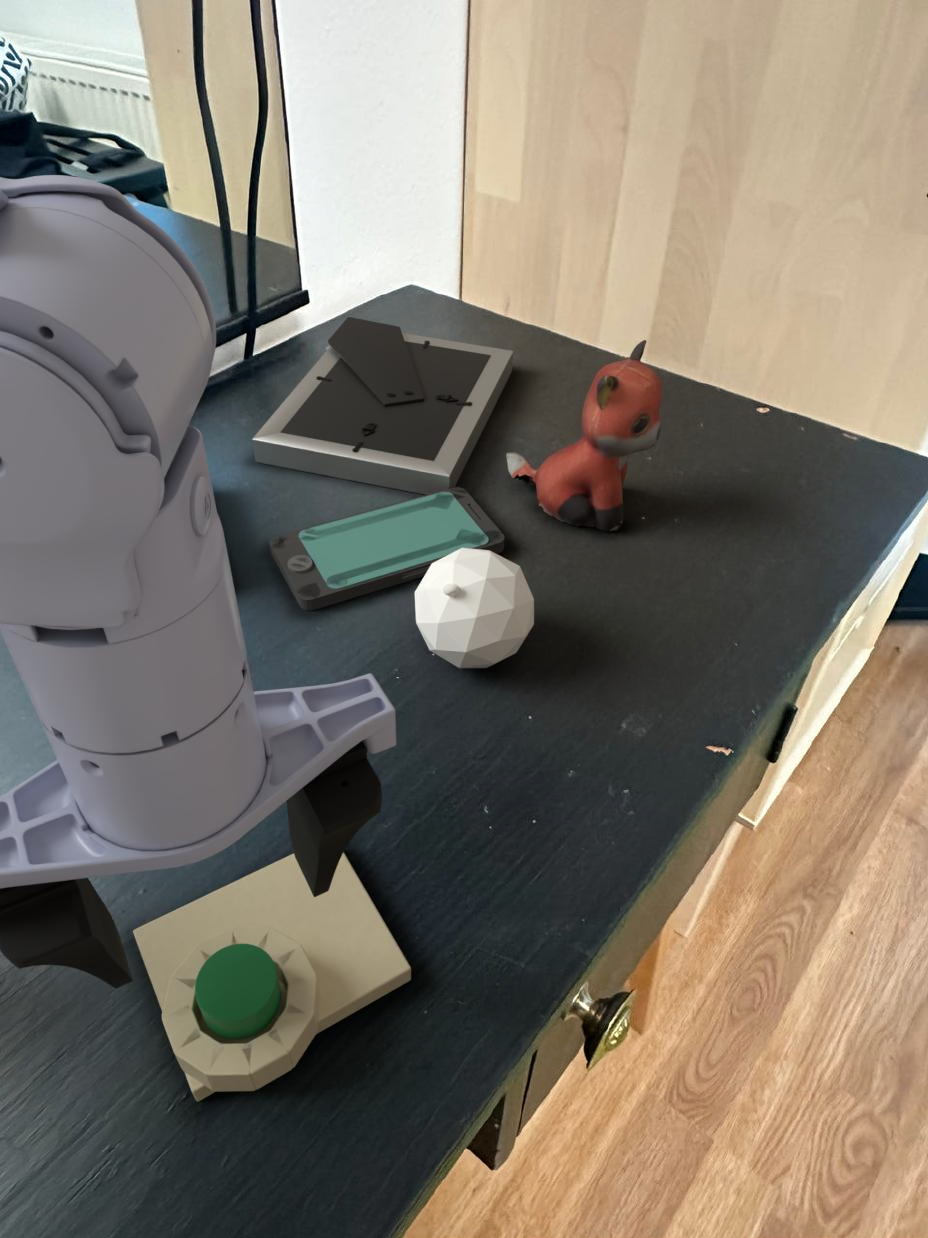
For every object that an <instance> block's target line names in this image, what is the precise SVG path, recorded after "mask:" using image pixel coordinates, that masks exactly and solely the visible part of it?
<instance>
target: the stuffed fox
mask: <svg viewBox="0 0 928 1238" xmlns="http://www.w3.org/2000/svg"><path fill="white" fill-rule="evenodd" d="M646 345H647V340H646V339H643V340H642V341H640V342H639V343H637V344H636V346H635V347H634V348H633V350H632V351H631V353H630V355H629V357H628V358H627V359H623V360H618V361H614V362H611V363H607V364H606V365H603V366H602V368H600V369H599V370H598V372H597V373H596V375H595V377H594V379H592V380H593V381H592V383H591V385H590V387H589V389H588V392H587V394H586V397H585V400H584V403H583V406H582V411H581V429H582V432H583V436H582V437H580V438H579V439H578V440H577V441H576V442H573V443H571V444H569V445H567V446H565V447H563V448H561V449H560V450H557V451H556V452H554V453H552V454H551V455H550V456H548V457H547V458H546V459H545V460H544V461H543V462H542V463H541V464H540V465H539V467H538V468H534V467H533V466H532V465H531V463H530V462H529V460H528V459H527V458H526V457H525V456H523V455H522V454H521V453H519V452H517V451H512V452H511V451H510V452H506V462H507V470H508V473H509V475H510V477H511V478H512V479H513V480H517V479H518V481H522V482H524V483H525V484H529V485H532V486H536V487H535V488H536V499H537V500H538V506H539V507H541V508H542V509H543V512H544V513H546V514H548V515H549V516H550V517H554V518H555V519H557V520H558V521H560V522H561V523H567V524H569V525H571V526H574V527H580V526H581V527H589V528H592V527H596V529H599V530H601V531H603V532H612V531H618V530H620V529H622V526H623V522H624V512H623V511H624V501H623V485H624V483H625V480H626V476H627V472H628V470H629V469H628V467H629V464H628V462H629V461H628V460H629V458H630V456H631V455H632V454H634V453H639V452H645V451H648V450H650V449H652V448H653V447H655V446H656V444H657V443H658V440H659V437H660V433H661V427H662V426H661V425H662V424H661V417H660V406H661V402H662V395H663V388H662V381H661V379H660V377H659V375H658V374H657V372H655V370H653V368H651V367H650V366H648V365H646V364H645V363H643V362H642V360H641V359H642V358H643V355H644V352H645V349H646Z"/></svg>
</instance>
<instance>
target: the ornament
mask: <svg viewBox="0 0 928 1238" xmlns="http://www.w3.org/2000/svg"><path fill="white" fill-rule="evenodd" d="M414 610H415V624H416V626H417V628H418V630H419V632H420V634H421V637H422V638H423V640H424V642H425V644H426V646H427V648H428V651H430V652H431V653H433V654H435V655H436V656H438V657H440V658H441V659H443V660H445V661H447V662H449V663H450V664H452V665H453V666H455V667H456V668H458V669H487V668H489V667H491V666H493V665H495V664H497V663H500V662H501V661H503V660H505V659H507V658H509V657H511V656H514V655H515V654H517V653H518V651H519V649H520V647H521V646H522V644H523V643H524V641H525V640H526V638H527V637H528V635H529V633H530V631H531V630H532V628H533V627H534V625H535V598H534V595H533V594H532V591H531V589H530V587H529V584H528V582H527V580H526V577H525V575H524V572H523V570H522V568H521V566H520V565H518V564H517V563H515V562H513V561H512V560H509V559H507V558H505V557H503V556H501V555H499V554H495V553H493V552H492V551H490V550H480V549H470V548H461V549H459V550H457V551H455V552H453V553H451V554H449V555H447V556H445V557H443V558H441V559H440V560H438V561H436V562H434V563H432V564H431V566H430V567H429V569H428V571H427V573H426V574H425V576H423V578H422V579H421V581H420V583H419V584H418V585H417V587H416V589H415V591H414Z"/></svg>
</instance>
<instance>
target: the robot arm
mask: <svg viewBox="0 0 928 1238" xmlns="http://www.w3.org/2000/svg"><path fill="white" fill-rule="evenodd" d="M216 347H217V322H216V318H215V312H214V307H213V303H212V301H211V297H210V295H209V292H208V289H207V287H206V285H205V282H204V281H203V279H202V277H201V275H200V273H199V272H198V270H197V268H196V266H195V265H194V264H193V261H191V259H190V258H189V256H188V255H187V254H186V252H184V250H183V248H181V246H179V244H178V243H177V242H176V241H175V240H174V239H173V237H171V236H170V235H169V234H168V233H167V232H166V231H165V230H164V229H162V228H161V227H160V225H159V226H158V225H157V223H155V222H154V221H152V220H151V219H150V218H149V217H147V216H146V215H144V214H142V213H141V212H139V210H137V209H136V208H135V206H133V204H132V203H131V202H130V201H129V200H128V199H127V198H126V197H125V196H124V195H123V194H122V193H121V192H120V191H119V190H118V189H116V188H115V187H112V186H111V185H107V184H104V183H101V182H99V181H94V180H91V179H87V178H82V177H78V176H72V175H63V174H61V175H60V174H51V175H50V174H45V175H34V176H28V177H24V178H6V177H2V176H0V635H1V637H2V639H3V642H4V644H5V646H6V648H7V650H8V652H9V655H10V657H11V659H12V661H13V663H14V666H15V668H16V671H17V672H18V674H19V677H20V679H21V681H22V683H23V686H24V688H25V690H26V692H27V695H28V697H29V699H30V701H31V704H32V706H33V708H34V710H35V713H36V715H37V718H38V721H39V723H40V725H41V727H42V729H43V731H44V733H45V735H46V738H47V741H48V742H49V744H50V747H51V748H52V751H53V753H54V755H55V757H56V760H54V761H53V762H50V763H49V764H48V765H46V766H45V767H43V768H42V769H40V770H39V771H37V772H36V773H34V774H32V775H31V776H30V777H29V778H27V779H25V780H24V781H22V782H21V783H19V784H17V785H16V786H15V787H13V788H11V789H10V790H9V791H7V792H6V793H3V794H2V795H0V953H1V954H2V955H3V956H4V957H5V958H6V960H8V961H9V962H10V963H11V964H12V965H14V966H15V967H16V968H17V969H19V970H21V969H26V968H30V967H37V966H38V967H39V966H59V967H67V968H71V969H76V970H78V971H81V972H84V973H86V974H89V975H91V976H93V977H95V978H97V979H100V980H101V981H103V982H104V983H106V984H108V985H109V986H110V987H112V988H113V989H119V988H121V987H123V986H125V985H128V984H130V983H132V982H134V979H133V975H132V972H131V969H130V965H129V962H128V959H127V955H126V951H125V948H124V945H123V941H122V938H121V935H120V932H119V930H118V927H117V925H116V923H115V921H114V918H113V916H112V914H111V912H110V911H109V909H108V907H107V906H106V905H105V903H104V901H103V900H102V898H101V896H100V895H99V893H98V891H97V890H96V889H95V887H94V885H93V883H92V882H91V880H90V879H89V878H98V877H106V876H107V877H108V876H117V875H123V874H125V875H126V874H133V873H140V872H150V871H158V870H159V871H160V870H166V869H172V868H173V869H174V868H179V867H185V866H188V865H191V864H194V863H198V862H201V861H203V860H206V859H208V858H210V857H213V856H215V855H217V854H219V853H220V852H222V851H224V850H225V849H227V848H229V847H230V846H232V845H234V843H236V842H237V841H239V840H240V839H242V838H243V836H245V835H246V834H247V833H249V832H250V831H251V830H252V829H254V828H255V827H256V826H258V824H259V823H261V822H262V821H263V820H265V819H266V818H267V817H268V816H269V815H271V814H272V813H273V812H274V811H276V810H277V809H278V808H280V807H281V806H283V804H284V803H286V809H287V810H286V811H287V820H288V828H289V829H288V830H289V839H290V842H291V847H292V850H293V851H292V852H293V854H294V855H295V858H296V860H297V862H298V864H299V867H300V869H301V871H302V873H303V875H304V877H305V879H306V881H307V883H308V886H309V888H310V890H311V892H312V894H313V896H314V897H317V896H319V895H321V894H323V893H325V892H328V890H329V888H330V885H331V882H332V879H333V876H334V873H335V871H336V868H337V866H338V863H339V861H340V858H341V856H342V854H343V852H344V853H345V850H346V848H347V847H348V845H349V844H350V842H351V841H352V840H353V838H354V837H355V836H356V835H357V833H358V832H359V831H360V830H361V828H362V827H364V825H366V824H367V823H368V822H369V821H370V820H371V819H373V818H374V817H376V816H377V815H378V814H379V813H381V809H382V803H383V802H382V801H383V794H382V793H383V792H382V783H381V780H380V778H379V776H378V775H377V773H376V771H375V769H374V767H373V766H372V764H371V762H370V761H369V759H368V754H370V755H376V754H378V753H381V752H383V751H386V750H389V749H391V748H393V747H395V746H397V723H396V721H397V720H396V717H397V716H396V708H395V706H394V705H393V703H392V702H391V701H390V699H389V697H388V695H386V693H385V692H384V690H383V688H382V687H381V686H380V684H379V682H378V681H377V679H376V678H375V676H374V674H373V673H366V674H363V675H360V676H357V677H353V678H351V679H347V680H342V681H338V682H334V683H327V684H318V685H310V686H300V687H299V686H298V687H288V688H277V689H276V688H275V689H265V690H256V691H255V690H254V686H253V681H252V680H253V679H252V675H251V672H250V671H251V670H250V666H249V660H248V653H247V652H248V651H247V648H246V642H245V637H244V632H243V627H242V622H241V617H240V616H241V615H240V611H239V606H238V601H237V595H236V590H235V586H234V585H235V584H234V580H233V574H232V569H231V564H230V559H229V558H230V557H229V553H228V548H227V544H226V539H225V533H224V528H223V524H222V521H221V518H220V515H219V513H218V511H217V505H216V500H215V495H214V489H213V484H212V479H211V473H210V469H209V465H208V459H207V454H206V449H205V443H204V438H203V434H202V432H201V431H200V430H199V428H197V427H195V426H193V425H190V423H191V421H192V419H193V416H194V414H195V412H196V409H197V408H198V405H199V403H200V400H201V398H202V397H203V394H204V392H205V389H206V387H207V385H208V382H209V379H210V375H211V372H212V366H213V361H214V358H215V353H216Z"/></svg>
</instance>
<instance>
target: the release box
mask: <svg viewBox="0 0 928 1238" xmlns="http://www.w3.org/2000/svg"><path fill="white" fill-rule="evenodd" d="M132 933H133V936H134V939H135V942H136V944H137V948H138V950H139V953H140V955H141V958H142V960H143V961H142V962H143V963H144V967H145V969H146V971H147V974H148V977H149V980H150V983H151V985H152V988H153V991H154V994H155V996H156V998H157V999H156V1000H157V1002H158V1004H159V1008H160V1009H161V1012H162V1013H161V1021H162V1024H163V1027H164V1030H165V1032H166V1035H167V1038H168V1041H169V1043H170V1047H171V1049H172V1052H173V1054H174V1056H175V1059H176V1060H177V1062H178V1065H179V1066H180V1069H181V1070H182V1071H183V1072H184V1075H185V1077H186V1080H187V1083H188V1085H189V1088H190V1092H191V1094H192V1096H193V1097H194V1100H195V1101H196V1102H200V1101H202V1100H204V1099H205V1098H207V1097H209V1096H211V1095H212V1094H214V1093H215V1092H255V1091H256V1090H259V1089H261V1088H262V1087H264V1086H267V1084H269V1083H271V1082H273V1081H275V1080H276V1079H277V1078H280V1077H281V1076H283V1075H285V1074H287V1073H288V1072H290V1071H292V1070H293V1068H295V1067H296V1065H298V1063H299V1061H300V1060H301V1058H302V1057H303V1055H304V1053H305V1052H306V1051H307V1049H308V1047H309V1046H310V1045H311V1043H312V1042H313V1040H314V1038H315V1036H316V1035H318V1034H319V1033H321V1032H322V1031H325V1030H326V1029H328V1028H330V1027H331V1026H333V1025H335V1024H337V1023H338V1022H340V1021H342V1020H343V1019H345V1018H348V1017H349V1016H351V1015H352V1014H354V1013H356V1012H357V1011H359V1010H361V1009H363V1008H364V1007H366V1006H368V1005H370V1004H371V1003H374V1002H375V1001H377V1000H379V999H381V998H382V997H384V996H385V995H387V994H389V993H391V992H392V991H394V990H396V989H398V988H400V987H401V986H403V985H405V984H407V983H409V982H410V981H411V980H412V967H411V966H410V964H409V961H408V960H407V958H406V957H405V955H404V953H403V951H402V950H401V948H400V947H399V945H398V943H397V941H396V940H395V938H394V936H393V934H392V932H391V931H390V929H389V927H388V926H387V924H386V921H384V919H383V917H382V916H381V914H380V912H379V910H378V909H377V908H376V905H375V904H374V902H373V900H372V898H371V897H370V895H369V893H368V891H367V890H366V888H365V886H364V884H363V883H362V881H361V879H360V878H359V876H358V874H357V873H356V871H355V869H354V868H353V866H352V864H351V862H350V861H349V859H348V857H347V855H346V854H345V851H344V852H343V854H342V856H341V858H340V861H339V863H338V866H337V868H336V871H335V873H334V876H333V879H332V882H331V885H330V888H329V890H328V892H325V893H323V894H321V895H319V896H317V897H314V896H313V894H312V892H311V890H310V888H309V886H308V883H307V881H306V879H305V877H304V875H303V873H302V871H301V869H300V867H299V864H298V862H297V860H296V858H295V855H294V853H291V854H289V855H287V856H286V857H283V858H281V859H279V860H277V861H274V862H273V863H271V864H269V865H265V866H264V867H262V868H260V869H258V870H256V871H253V872H251V873H249V874H248V875H245V876H244V877H241V878H239V879H237V880H235V881H233V882H230V883H229V884H227V885H225V886H223V887H220V888H218V889H216V890H213V891H212V892H209V893H208V894H206V895H204V896H201V897H199V898H197V899H195V900H193V901H191V902H189V903H187V904H184V905H182V906H181V907H179V908H176V909H175V910H173V911H171V912H168V913H166V914H164V915H162V916H160V917H157V918H156V919H154V920H151V921H149V922H147V923H145V924H143V925H141V926H139V927H137V928H134V929H133V931H132ZM234 944H251V945H254V946H257V947H259V948H261V949H263V950H264V951H266V952H267V953H268V954H269V956H270V957H271V958H272V960H273V962H274V964H275V967H276V971H277V975H278V979H279V983H280V988H281V1001H280V1006H279V1009H278V1011H277V1013H276V1015H275V1017H274V1018H273V1020H272V1021H271V1022H270V1023H269V1024H268V1026H267V1027H265V1028H264V1029H263V1030H262V1031H260V1032H259V1033H257V1034H255V1035H253V1036H251V1037H248V1038H244V1039H237V1040H234V1039H226V1038H223V1037H220V1036H218V1035H217V1034H215V1033H214V1032H213V1031H212V1030H211V1029H210V1028H209V1027H208V1026H207V1024H206V1022H205V1020H204V1018H203V1015H202V1013H201V1010H200V1008H199V1005H198V1003H197V1000H196V995H195V983H196V979H197V976H198V973H199V971H200V969H201V967H202V966H203V964H204V963H205V962H206V961H207V960H208V958H209V957H211V956H212V955H213V954H214V953H216V952H217V951H219V950H220V949H222V948H224V947H227V946H230V945H234Z"/></svg>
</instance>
